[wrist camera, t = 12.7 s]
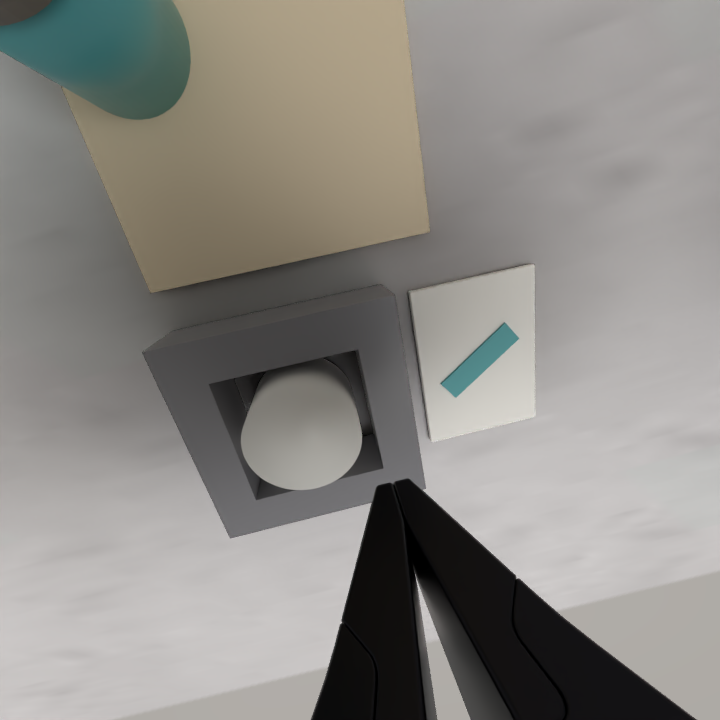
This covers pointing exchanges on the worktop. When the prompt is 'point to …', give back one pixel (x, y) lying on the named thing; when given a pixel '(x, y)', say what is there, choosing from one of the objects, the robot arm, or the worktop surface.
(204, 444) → the button housing
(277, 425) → the button
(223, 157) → the paper pad
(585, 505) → the worktop surface
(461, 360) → the card
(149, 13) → the teal grey-topped cylinder
